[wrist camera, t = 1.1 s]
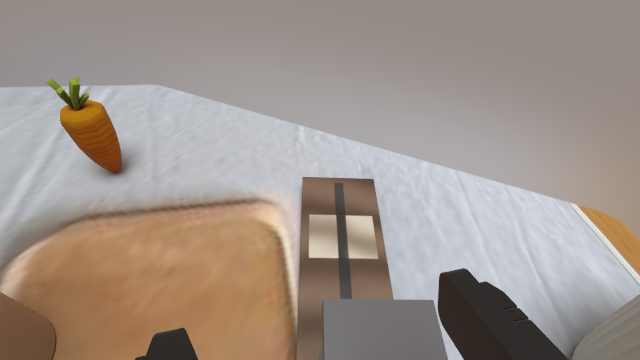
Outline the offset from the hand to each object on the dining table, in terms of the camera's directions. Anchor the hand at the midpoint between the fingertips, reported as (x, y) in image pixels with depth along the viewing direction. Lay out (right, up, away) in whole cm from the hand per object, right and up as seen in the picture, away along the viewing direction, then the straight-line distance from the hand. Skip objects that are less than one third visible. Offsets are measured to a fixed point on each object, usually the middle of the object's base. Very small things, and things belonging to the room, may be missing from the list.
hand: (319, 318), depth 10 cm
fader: (+3, -14, +18) cm, 23 cm away
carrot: (-30, +5, +37) cm, 48 cm away
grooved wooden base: (+3, -7, +27) cm, 28 cm away
